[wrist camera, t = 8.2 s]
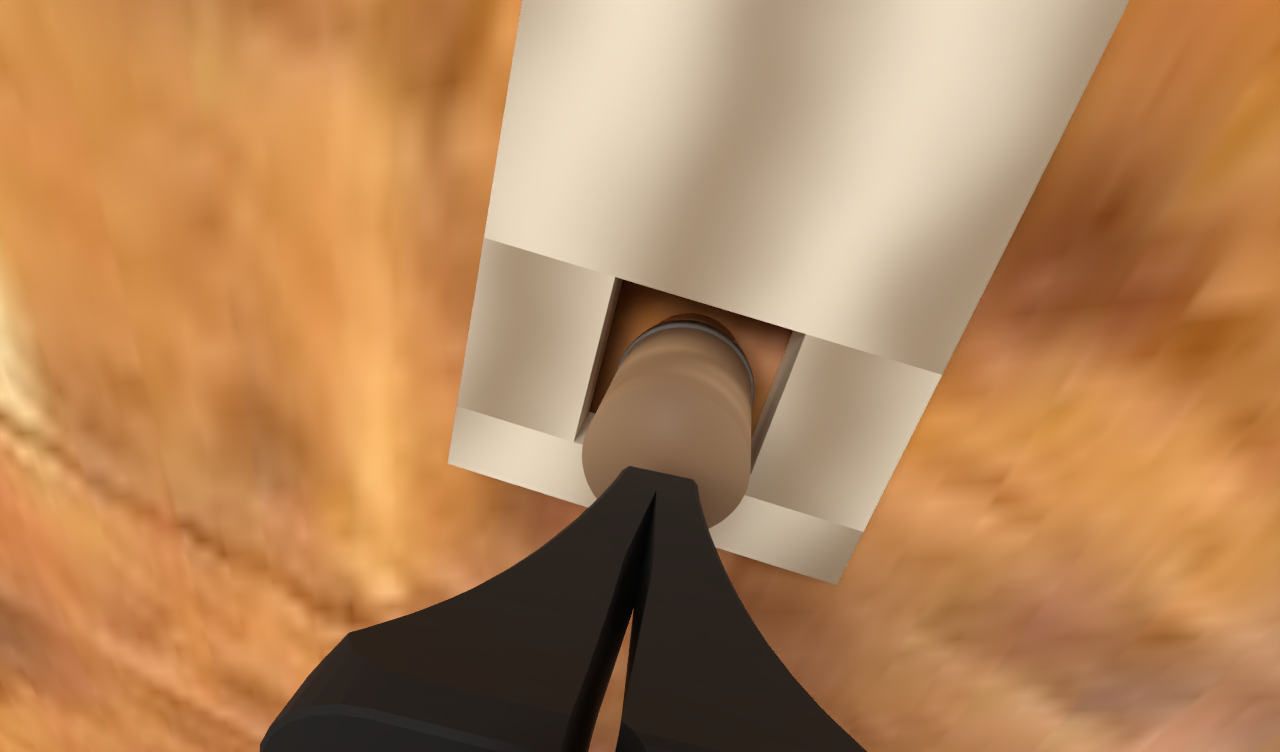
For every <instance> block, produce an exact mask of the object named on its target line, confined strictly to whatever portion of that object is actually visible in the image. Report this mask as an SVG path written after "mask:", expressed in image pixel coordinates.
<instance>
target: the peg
mask: <svg viewBox="0 0 1280 752" xmlns="http://www.w3.org/2000/svg"><path fill="white" fill-rule="evenodd" d="M753 399H754V382H753V376H752V372H751V368H750V366H749V363H748V361H747V358H746V356H745V354H744V353H743V351H742V349H741V348H740V347H739V345H738V343H737V341H736V340H735V338H734V336H733V335H732V334H731V333H730V331H729V330H728V329H727V328H726V327H725V326H723V325H722V324H721V323H719V322H718V321H716V320H714V319H712V318H709V317H707V316H703V315H699V314H679V315H675V316H672V317H669V318H667V319H665V320H663V321H661V322H660V323H659V324H657V325H655V326H653V327H652V328H650V329H648V330H647V331H645V332H644V333H642V334H641V335H640V336H639V337H638V338H637V339H636V340H635V341H633V342H632V343H631V345H630V346H629V347H628V349H627V350H626V352H625V353H624V355H623V357H622V359H621V361H620V363H619V365H618V368H617V371H616V375H615V376H614V378H613V380H612V382H611V384H610V386H609V388H608V390H607V392H606V394H605V396H604V398H603V400H602V402H601V404H600V406H599V408H598V410H597V412H596V414H595V416H594V418H593V420H592V422H591V424H590V425H589V427H588V430H587V432H586V435H585V438H584V442H583V447H582V465H583V470H584V474H585V477H586V480H587V483H588V485H589V487H590V489H591V491H592V493H593V494H594V496H595V497H596V498H597V499H598V498H599V497H600V496H601V495H602V494H603V493H604V492H605V490H606V489H607V488H608V487H609V486H610V485H611V484H612V483H613V482H614V480H615V479H616V478H617V477H618V475H619V474H620V473H621V471H622V470H623V469H625V468H626V467H628V466H633V467H638V468H642V469H647V470H652V471H656V472H661V473H666V474H670V475H675V476H680V477H685V478H689V479H693V480H694V481H695V483H696V484H697V486H698V492H699V498H700V503H701V506H702V510H703V514H704V517H705V520H706V523H707V526H708V529H709V528H711V527H713V526H715V525H717V524H718V523H720V522H722V521H723V520H724V519H725V518H727V517H728V516H729V515H730V514H731V513H732V512H733V511H734V510H735V509H736V508H737V506H738V505H739V504H740V502H741V500H742V499H743V497H744V495H745V493H746V490H747V487H748V484H749V479H750V471H751V413H752V404H753Z"/></svg>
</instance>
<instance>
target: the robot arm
mask: <svg viewBox="0 0 1280 752" xmlns="http://www.w3.org/2000/svg"><path fill="white" fill-rule="evenodd" d="M633 608H634V611H633ZM632 611H633V620H632V629H631V638H630V647H629V656H628V665H627V674H626V683H625V692H624V701H623V710H622V718H621V725H620V731H619V736H618V741H617V746H616V751H615V752H867V751H866V750H865V749H864V748H862V747H861V746H860V745H859V744H858V743H857V742H856V741H855V740H854V739H853V738H852V737H851V736H850V735H849V734H848V733H847V732H846V731H845V730H843V729H842V728H841V727H840V726H839V725H838V724H837V723H836V722H835V721H834V720H833V719H832V718H831V717H830V716H829V715H828V714H827V713H826V712H825V711H824V710H823V709H822V708H821V707H820V706H819V705H818V704H817V703H816V702H815V700H814V699H813V698H812V697H811V696H810V695H809V694H808V693H807V692H806V691H805V689H804V688H803V687H802V686H801V685H800V684H799V683H798V682H797V681H796V679H795V678H794V677H793V676H792V674H791V673H790V672H789V671H788V669H787V668H786V667H785V665H784V664H783V663H782V662H781V660H780V659H779V658H778V656H777V655H776V654H775V653H774V651H773V650H772V649H771V647H770V646H769V645H768V643H767V642H766V640H765V639H764V637H763V636H762V634H761V633H760V631H759V630H758V628H757V627H756V625H755V624H754V622H753V621H752V619H751V617H750V616H749V614H748V612H747V611H746V609H745V607H744V606H743V604H742V602H741V600H740V599H739V597H738V595H737V593H736V591H735V589H734V587H733V585H732V583H731V581H730V579H729V577H728V575H727V573H726V571H725V569H724V567H723V564H722V562H721V560H720V558H719V555H718V553H717V550H716V548H715V545H714V543H713V540H712V537H711V535H710V532H709V529H708V526H707V523H706V520H705V517H704V514H703V510H702V506H701V503H700V498H699V492H698V486H697V484H696V483H695V481H694V480H693V479H689V478H685V477H680V476H675V475H670V474H666V473H661V472H656V471H652V470H647V469H642V468H638V467H633V466H628V467H626V468H625V469H623V470H622V471H621V473H620V474H619V475H618V477H617V478H616V479H615V480H614V482H613V483H612V484H611V485H610V486H609V487H608V488H607V489H606V490H605V492H604V493H603V494H602V495H601V496H600V497H599V498H598V499H597V500H596V501H595V502H594V503H593V504H592V505H591V506H590V507H588V508H587V509H586V510H585V511H584V512H583V513H582V514H581V515H580V516H579V517H578V518H577V519H576V520H575V521H573V522H572V523H571V524H570V525H568V526H567V527H566V528H565V529H564V530H562V531H561V532H560V533H559V534H557V535H556V536H555V537H554V538H553V539H551V540H550V541H549V542H547V543H546V544H545V545H543V546H542V547H541V548H539V549H538V550H536V551H535V552H534V553H532V554H531V555H529V556H528V557H526V558H525V559H523V560H522V561H520V562H518V563H517V564H515V565H514V566H512V567H511V568H509V569H507V570H505V571H504V572H502V573H500V574H498V575H497V576H495V577H493V578H491V579H490V580H488V581H486V582H484V583H482V584H480V585H478V586H477V587H475V588H473V589H471V590H469V591H466V592H464V593H462V594H460V595H457V596H455V597H453V598H451V599H448V600H446V601H443V602H441V603H438V604H436V605H433V606H431V607H428V608H426V609H423V610H420V611H418V612H415V613H412V614H409V615H406V616H403V617H400V618H397V619H393V620H390V621H387V622H384V623H381V624H377V625H374V626H371V627H368V628H364V629H361V630H357V631H354V632H350V633H348V634H347V635H346V636H345V637H344V638H343V639H342V641H341V642H340V643H339V644H338V645H337V646H336V647H335V648H334V649H333V650H332V651H331V652H330V653H329V654H328V655H327V656H326V657H325V658H324V659H323V660H322V661H321V662H320V664H319V665H318V666H317V667H316V668H315V669H314V670H313V671H312V672H311V674H310V675H309V676H308V677H307V678H306V680H305V681H304V682H303V684H302V685H301V686H300V688H299V689H298V690H297V692H296V693H295V694H294V695H293V697H292V698H291V699H290V701H289V702H288V703H287V705H286V706H285V707H284V709H283V710H282V711H281V713H280V714H279V715H278V717H277V718H276V719H275V720H274V722H273V723H272V724H271V726H270V727H269V729H268V731H267V733H266V735H265V736H264V738H263V740H262V742H261V744H260V752H588V750H589V746H590V742H591V738H592V734H593V730H594V727H595V723H596V720H597V717H598V713H599V710H600V707H601V704H602V701H603V698H604V695H605V692H606V689H607V686H608V683H609V680H610V677H611V674H612V671H613V668H614V665H615V662H616V659H617V656H618V653H619V650H620V647H621V644H622V641H623V638H624V635H625V632H626V629H627V626H628V623H629V620H630V617H631V614H632Z"/></svg>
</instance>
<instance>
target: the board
mask: <svg viewBox="0 0 1280 752" xmlns="http://www.w3.org/2000/svg"><path fill="white" fill-rule="evenodd" d="M1128 2H1129V0H522V5H521V11H520V18H519V24H518V30H517V36H516V42H515V49H514V55H513V61H512V67H511V74H510V80H509V86H508V92H507V98H506V105H505V111H504V117H503V123H502V129H501V136H500V142H499V148H498V154H497V160H496V167H495V173H494V179H493V185H492V191H491V198H490V204H489V210H488V216H487V223H486V229H485V235H484V241H483V247H482V254H481V260H480V266H479V272H478V278H477V285H476V291H475V297H474V303H473V309H472V316H471V322H470V328H469V334H468V341H467V347H466V353H465V359H464V365H463V372H462V378H461V384H460V390H459V396H458V403H457V409H456V415H455V421H454V427H453V434H452V440H451V446H450V452H449V458H448V464H451V465H454V466H457V467H460V468H464V469H467V470H470V471H473V472H476V473H479V474H483V475H486V476H489V477H492V478H495V479H499V480H502V481H505V482H508V483H511V484H515V485H518V486H521V487H524V488H527V489H531V490H534V491H537V492H540V493H543V494H547V495H550V496H553V497H556V498H559V499H563V500H566V501H569V502H572V503H575V504H578V505H582V506H585V507H590V506H591V505H592V504H593V503H594V502H595V501H596V500H597V498H596V497H595V496H594V494H593V493H592V491H591V489H590V487H589V485H588V483H587V480H586V477H585V474H584V470H583V465H582V447H583V442H584V438H585V435H586V432H587V430H588V427H589V425H590V424H591V422H592V420H593V418H594V416H595V413H592V412H589V410H590V406H591V403H592V399H593V395H594V391H595V387H596V383H597V379H598V375H599V372H600V368H601V364H602V360H603V356H604V352H605V348H606V344H607V341H608V337H609V333H610V329H611V325H612V321H613V317H614V313H615V309H616V306H617V302H618V298H619V294H620V290H621V286H622V282H623V279H624V280H627V281H630V282H634V283H637V284H640V285H644V286H647V287H650V288H654V289H657V290H660V291H664V292H667V293H670V294H674V295H677V296H680V297H684V298H687V299H690V300H694V301H697V302H700V303H704V304H707V305H711V306H714V307H717V308H721V309H724V310H727V311H731V312H734V313H737V314H741V315H744V316H747V317H751V318H754V319H757V320H761V321H764V322H767V323H771V324H774V325H777V326H781V327H784V328H787V329H791V330H793V331H792V334H791V337H790V339H789V342H788V344H787V347H786V350H785V352H784V355H783V358H782V360H781V363H780V365H779V368H778V371H777V373H776V376H775V378H774V381H773V384H772V386H771V389H770V391H769V394H768V397H767V399H766V402H765V405H764V407H763V410H762V412H761V415H760V418H759V420H758V423H757V425H756V428H755V431H754V433H753V436H752V438H751V471H750V479H749V484H748V487H747V490H746V493H745V495H744V497H743V499H742V500H741V502H740V504H739V505H738V506H737V508H736V509H735V510H734V511H733V512H732V513H731V514H730V515H729V516H728V517H727V518H725V519H724V520H723V521H722V522H720V523H718V524H717V525H715V526H713V527H711V528H709V532H710V535H711V537H712V540H713V543H714V545H715V547H716V548H719V549H722V550H725V551H729V552H732V553H735V554H738V555H741V556H745V557H748V558H751V559H754V560H757V561H761V562H764V563H767V564H770V565H773V566H777V567H780V568H783V569H786V570H789V571H792V572H796V573H799V574H802V575H805V576H808V577H812V578H815V579H818V580H821V581H824V582H828V583H831V584H834V585H837V584H838V582H839V580H840V578H841V576H842V574H843V572H844V570H845V568H846V566H847V564H848V562H849V560H850V558H851V556H852V554H853V552H854V550H855V548H856V546H857V544H858V542H859V540H860V538H861V536H862V534H863V532H864V530H865V528H866V526H867V524H868V522H869V520H870V518H871V516H872V514H873V512H874V510H875V508H876V506H877V504H878V502H879V500H880V498H881V496H882V494H883V492H884V490H885V488H886V486H887V484H888V482H889V480H890V478H891V476H892V474H893V472H894V470H895V468H896V466H897V464H898V462H899V460H900V458H901V456H902V454H903V452H904V450H905V448H906V446H907V444H908V442H909V440H910V438H911V436H912V434H913V432H914V430H915V428H916V426H917V424H918V422H919V420H920V418H921V416H922V414H923V412H924V410H925V408H926V406H927V404H928V402H929V400H930V398H931V396H932V394H933V392H934V390H935V388H936V386H937V384H938V382H939V380H940V378H941V376H942V374H943V372H944V370H945V368H946V366H947V364H948V362H949V360H950V358H951V356H952V354H953V352H954V350H955V348H956V346H957V344H958V342H959V340H960V338H961V336H962V334H963V332H964V330H965V328H966V326H967V324H968V322H969V320H970V318H971V316H972V314H973V312H974V310H975V308H976V306H977V304H978V302H979V300H980V298H981V296H982V294H983V292H984V290H985V288H986V286H987V284H988V282H989V280H990V278H991V276H992V274H993V272H994V270H995V268H996V266H997V264H998V262H999V260H1000V258H1001V256H1002V254H1003V252H1004V250H1005V248H1006V246H1007V244H1008V242H1009V240H1010V238H1011V236H1012V234H1013V232H1014V230H1015V228H1016V226H1017V224H1018V222H1019V220H1020V218H1021V216H1022V214H1023V212H1024V210H1025V208H1026V206H1027V204H1028V202H1029V200H1030V198H1031V196H1032V194H1033V192H1034V190H1035V188H1036V186H1037V184H1038V182H1039V180H1040V178H1041V176H1042V174H1043V172H1044V170H1045V168H1046V166H1047V164H1048V162H1049V160H1050V158H1051V156H1052V154H1053V152H1054V150H1055V148H1056V146H1057V144H1058V142H1059V140H1060V138H1061V136H1062V134H1063V132H1064V130H1065V128H1066V126H1067V124H1068V122H1069V120H1070V118H1071V116H1072V114H1073V112H1074V110H1075V108H1076V106H1077V104H1078V102H1079V100H1080V98H1081V96H1082V94H1083V92H1084V90H1085V88H1086V86H1087V84H1088V82H1089V80H1090V78H1091V76H1092V74H1093V72H1094V70H1095V68H1096V66H1097V64H1098V62H1099V60H1100V58H1101V56H1102V54H1103V52H1104V50H1105V48H1106V46H1107V44H1108V42H1109V40H1110V38H1111V36H1112V34H1113V32H1114V30H1115V28H1116V26H1117V24H1118V22H1119V20H1120V18H1121V16H1122V14H1123V12H1124V10H1125V8H1126V6H1127V4H1128Z"/></svg>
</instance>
